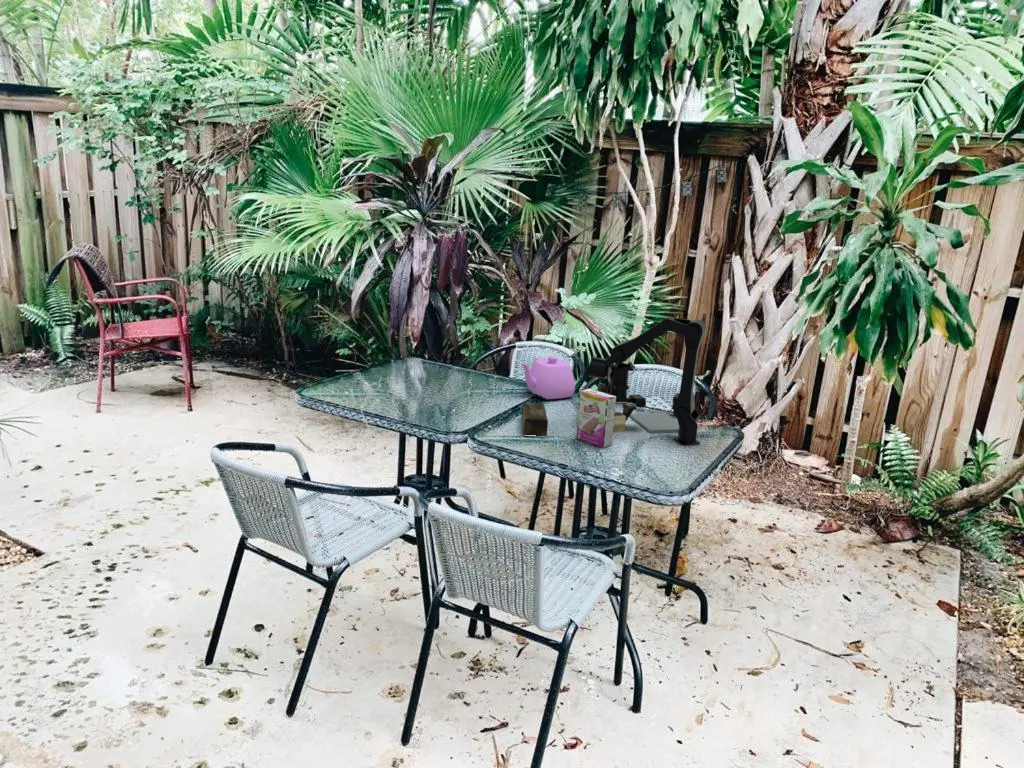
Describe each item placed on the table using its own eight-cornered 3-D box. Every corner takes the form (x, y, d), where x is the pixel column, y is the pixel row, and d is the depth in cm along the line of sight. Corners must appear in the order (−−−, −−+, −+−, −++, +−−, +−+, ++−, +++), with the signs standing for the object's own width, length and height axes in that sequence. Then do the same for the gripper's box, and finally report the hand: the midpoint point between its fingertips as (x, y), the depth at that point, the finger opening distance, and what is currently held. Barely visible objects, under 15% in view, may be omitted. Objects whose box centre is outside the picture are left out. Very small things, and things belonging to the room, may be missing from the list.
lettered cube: (624, 430, 254) (625, 416, 253) (610, 431, 253) (612, 416, 251) (618, 425, 259) (620, 411, 257) (605, 426, 257) (606, 412, 256)
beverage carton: (544, 419, 262) (545, 401, 260) (547, 438, 243) (548, 419, 242) (521, 418, 262) (522, 400, 260) (522, 437, 243) (523, 418, 241)
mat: (687, 431, 256) (687, 428, 256) (649, 433, 253) (649, 430, 252) (664, 414, 273) (664, 412, 273) (628, 416, 269) (628, 413, 269)
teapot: (552, 384, 305) (554, 348, 301) (580, 399, 287) (583, 360, 283) (501, 389, 294) (503, 352, 290) (528, 405, 276) (530, 365, 272)
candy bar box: (575, 439, 243) (578, 390, 239) (584, 436, 247) (588, 387, 242) (603, 449, 236) (607, 398, 232) (612, 445, 240) (617, 395, 235)
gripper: (635, 374, 261) (631, 417, 265) (584, 375, 256) (581, 419, 260) (648, 383, 251) (644, 427, 255) (596, 384, 246) (592, 429, 250)
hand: (615, 425), depth 255 cm, fingers closed on lettered cube, 5 cm apart
